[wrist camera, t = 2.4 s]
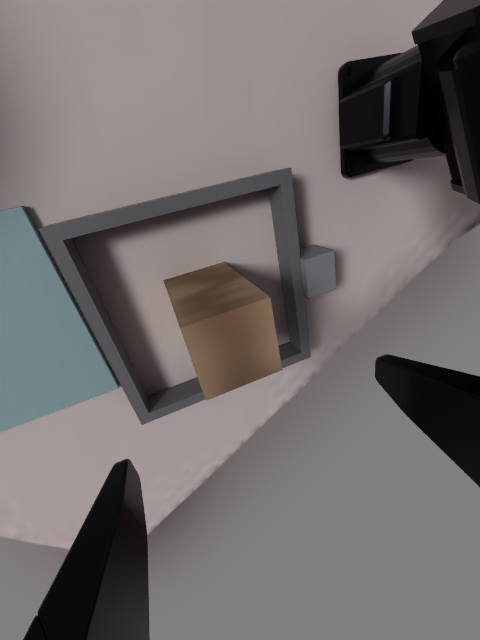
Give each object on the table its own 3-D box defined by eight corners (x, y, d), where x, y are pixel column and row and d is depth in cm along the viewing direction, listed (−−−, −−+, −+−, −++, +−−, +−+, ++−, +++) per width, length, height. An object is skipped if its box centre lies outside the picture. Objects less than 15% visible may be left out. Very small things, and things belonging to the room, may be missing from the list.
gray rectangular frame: (307, 162, 20) (330, 158, 17) (321, 337, 26) (338, 350, 24) (48, 225, 16) (35, 230, 14) (141, 407, 23) (142, 430, 21)
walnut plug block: (223, 262, 20) (270, 297, 14) (236, 315, 23) (282, 369, 16) (163, 280, 20) (180, 327, 13) (182, 334, 22) (205, 400, 15)
